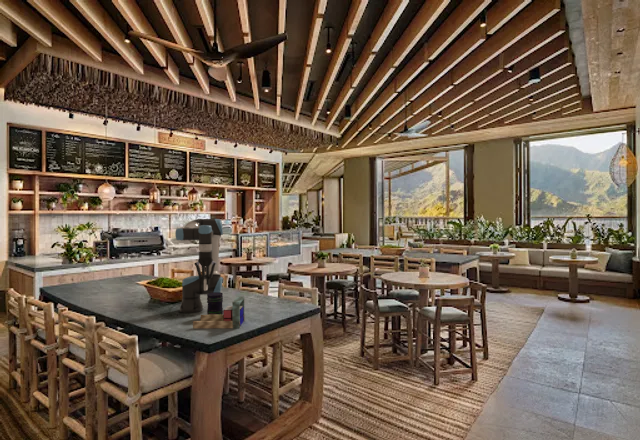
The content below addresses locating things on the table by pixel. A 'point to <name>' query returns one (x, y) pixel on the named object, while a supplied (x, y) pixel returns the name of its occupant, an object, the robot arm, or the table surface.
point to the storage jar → (215, 303)
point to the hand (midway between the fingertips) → (205, 290)
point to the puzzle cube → (229, 314)
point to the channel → (217, 320)
